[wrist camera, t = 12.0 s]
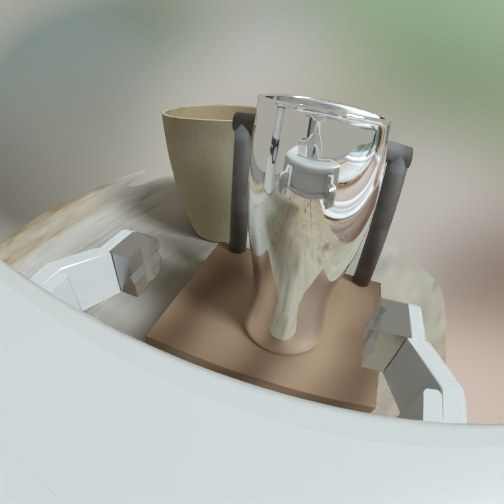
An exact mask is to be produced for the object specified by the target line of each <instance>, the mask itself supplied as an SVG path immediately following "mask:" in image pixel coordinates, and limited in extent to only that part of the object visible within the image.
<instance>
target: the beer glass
mask: <svg viewBox="0 0 504 504" xmlns="http://www.w3.org/2000/svg"><path fill="white" fill-rule="evenodd" d="M391 123H392V120H391V119H390V118H388V117H386V116H384V115H382V114H379V113H376V112H374V111H370V110H367V109H364V108H360V107H357V106H353V105H348V104H344V103H340V102H335V101H331V100H325V99H319V98H313V97H306V96H298V95H287V94H260V95H258V101H257V109H256V115H255V120H254V126H253V132H252V138H251V144H250V151H249V160H248V169H247V188H246V205H247V222H248V231H249V240H250V248H251V256H252V265H253V286H252V291H251V294H250V297H249V300H248V303H247V306H246V309H245V312H244V326H245V329H246V331H247V333H248V335H249V336H250V338H251V339H252V340H253V341H254V342H255V343H256V344H258V345H259V346H260V347H262V348H264V349H266V350H268V351H270V352H273V353H277V354H283V355H295V354H301V353H304V352H307V351H309V350H311V349H313V348H314V347H316V346H317V345H318V344H319V343H320V341H321V340H322V339H323V337H324V335H325V332H326V327H327V320H328V311H329V305H330V302H331V299H332V296H333V294H334V292H335V290H336V288H337V286H338V284H339V282H340V280H341V279H342V277H343V275H344V274H345V272H346V270H347V268H348V267H349V265H350V263H351V261H352V260H353V258H354V256H355V254H356V252H357V250H358V249H359V247H360V245H361V243H362V241H363V238H364V236H365V234H366V232H367V230H368V227H369V225H370V223H371V220H372V217H373V214H374V211H375V208H376V204H377V201H378V198H379V193H380V189H381V185H382V180H383V175H384V170H385V163H386V157H387V150H388V141H389V133H390V127H391Z"/></svg>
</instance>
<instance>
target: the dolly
mask: <svg viewBox="0 0 504 504" xmlns="http://www.w3.org/2000/svg"><path fill="white" fill-rule="evenodd" d="M255 115H256V114H252V113H243V112H236V113H235V114H234V116H233V120H232V128H233V130H234V131H235V136H234V154H233V173H232V193H231V215H230V240H229V244H228V243H225V242H220V243H219V244H218V245H217V247H216V248H215V249H214V250H213V251H212V253H211V254H210V255H209V256H208V258H207V259H206V260H205V261H204V262H203V264H202V265H201V266H200V267H199V269H198V270H197V271H196V272H195V274H194V275H193V276H192V277H191V279H190V280H189V281H188V282H187V284H186V285H185V286H184V287H183V289H182V290H181V291H180V292H179V294H178V295H177V296H176V297H175V299H174V300H173V301H172V303H171V304H170V305H169V306H168V308H167V309H166V310H165V311H164V313H163V314H162V315H161V317H160V318H159V319H158V320H157V322H156V323H155V324H154V326H153V327H152V328H151V329H150V331H149V332H148V333H147V335H146V338H147V341H148V344H149V345H151V346H153V347H155V348H157V349H160V350H162V351H164V352H167V353H169V354H171V355H174V356H176V357H178V358H181V359H183V360H186V361H188V362H191V363H193V364H196V365H199V366H201V367H204V368H206V369H209V370H212V371H214V372H217V373H220V374H223V375H226V376H228V377H231V378H234V379H237V380H240V381H243V382H246V383H249V384H253V385H256V386H259V387H262V388H266V389H269V390H272V391H276V392H279V393H283V394H286V395H290V396H294V397H298V398H302V399H305V400H309V401H314V402H318V403H322V404H326V405H331V406H335V407H340V408H345V409H350V410H355V411H360V412H366V413H371V412H372V411H373V410H374V409H375V407H376V397H377V387H378V375H379V371H377V370H372V369H368V368H364V367H361V359H362V351H363V349H364V347H365V343H364V342H363V337H364V331H365V327H366V324H367V321H368V319H369V317H370V315H371V314H373V313H374V312H375V304H376V302H377V300H378V298H379V297H381V283H378V282H374V281H370V280H371V277H372V275H373V272H374V270H375V267H376V264H377V262H378V259H379V256H380V254H381V251H382V248H383V245H384V243H385V240H386V237H387V234H388V231H389V228H390V225H391V222H392V219H393V216H394V213H395V210H396V206H397V203H398V200H399V196H400V193H401V190H402V186H403V183H404V179H405V175H406V172H407V168H409V166H410V164H411V161H412V156H413V148H412V147H408V146H405V145H402V144H399V143H395V142H392V141H388V150H387V157H386V162H387V166H386V170H385V175H384V178H383V182H382V186H381V190H380V194H379V198H378V201H377V205H376V208H375V212H374V215H373V218H372V222H371V225H370V228H369V232H368V235H367V238H366V241H365V244H364V247H363V250H362V253H361V256H360V259H359V262H358V265H357V268H356V271H355V274H354V276H351V275H347V274H344V275H343V277H342V279H341V280H340V282H339V284H338V286H337V288H336V290H335V292H334V294H333V296H332V299H331V302H330V305H329V311H328V320H327V327H326V332H325V335H324V337H323V339H322V340H321V341H320V343H319V344H318V345H317V346H316V347H314V348H313V349H311V350H309V351H307V352H304V353H301V354H295V355H283V354H277V353H273V352H270V351H268V350H266V349H264V348H262V347H260V346H259V345H258V344H256V343H255V342H254V341H253V340H252V339H251V338H250V336H249V335H248V333H247V331H246V329H245V326H244V312H245V309H246V306H247V303H248V300H249V297H250V294H251V291H252V286H253V265H252V256H251V249H248V248H246V242H247V229H248V222H247V205H246V188H247V169H248V160H249V151H250V144H251V138H252V132H253V126H254V120H255Z"/></svg>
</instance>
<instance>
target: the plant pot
mask: <svg viewBox="0 0 504 504" xmlns="http://www.w3.org/2000/svg"><path fill="white" fill-rule="evenodd" d="M256 109H257V107H252V106H241V105H193V106H183V107H175V108H171V109H167V110H164V111H163V112H162V117H163V124H164V131H165V137H166V143H167V148H168V153H169V158H170V162H171V166H172V170H173V174H174V177H175V181H176V184H177V187H178V190H179V193H180V196H181V199H182V202H183V205H184V207H185V210H186V212H187V214H188V217H189V219H190V221H191V224H192V226H193V228H194V230H195V232H196V233H197V234H198V235H199V236H200V237H202V238H204V239H206V240H209V241H214V242H229V240H230V215H231V193H232V173H233V154H234V136H235V131H234V130H233V128H232V120H233V116H234V114H235V113H236V112H243V113H252V114H256ZM247 232H248V229H247Z"/></svg>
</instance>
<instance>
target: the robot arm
mask: <svg viewBox="0 0 504 504" xmlns="http://www.w3.org/2000/svg"><path fill="white" fill-rule="evenodd" d="M158 249H159V242H158V240H157V239H156V238H155V237H152V236H149V235H145V234H142V233H139V232H135V231H132V230H128V229H123V230H122V231H120V232H119V233H118V234H116V235H115V236H114V237H113V238H111V239H110V240H109V241H108V242H106V243H105V244H104V245H103V246H101V247H100V248H99V249H98V248H94V249H90V250H87V251H84V252H81V253H77V254H74V255H71V256H68V257H65V258H62V259H59V260H56V261H52V262H49V263H47V264H46V265H45V266H44V267H42V268H41V269H40V270H39V271H38V272H37V273H35V274H34V275H33V276H32V277H31V278H30V279H28V278H27V277H25V276H24V275H22V274H21V273H20V272H18V271H17V270H15V269H14V268H12V267H11V266H9V265H8V264H7V263H5V262H4V261H3V260H1V259H0V504H504V424H467V415H466V402H465V392H464V391H463V389H462V388H461V386H460V385H459V383H458V382H457V380H456V379H455V378H454V376H453V375H452V373H451V372H450V370H449V369H448V367H447V366H446V365H445V363H444V362H443V360H442V359H441V358H440V356H439V355H438V354H437V352H436V351H435V349H434V348H433V347H432V345H431V344H430V343H429V342H426V340H425V332H424V325H423V318H422V311H421V307H420V306H418V305H413V304H409V303H403V302H398V301H394V300H390V299H386V298H382V297H379V298H378V300H377V302H376V304H375V312H374V313H373V314H371V315H370V317H369V319H368V321H367V324H366V327H365V331H364V337H363V342H364V343H365V347H364V349H363V351H362V359H361V367H364V368H368V369H372V370H377V371H381V372H383V374H384V376H385V379H386V381H387V383H388V385H389V388H390V390H391V392H392V394H393V397H394V399H395V401H396V404H397V406H398V408H399V411H400V413H401V414H400V415H399V416H398V417H390V416H384V415H377V414H371V413H366V412H360V411H355V410H350V409H345V408H340V407H335V406H331V405H326V404H322V403H318V402H314V401H309V400H305V399H302V398H298V397H294V396H290V395H286V394H283V393H279V392H276V391H272V390H269V389H266V388H262V387H259V386H256V385H253V384H249V383H246V382H243V381H240V380H237V379H234V378H231V377H228V376H226V375H223V374H220V373H217V372H214V371H212V370H209V369H206V368H204V367H201V366H199V365H196V364H193V363H191V362H188V361H186V360H183V359H181V358H178V357H176V356H174V355H171V354H169V353H167V352H164V351H162V350H160V349H157V348H155V347H153V346H151V345H148V344H146V343H144V342H142V341H140V340H138V339H135V338H133V337H131V336H129V335H127V334H125V333H123V332H121V331H119V330H117V329H115V328H113V327H111V326H109V325H107V324H105V323H103V322H101V321H99V320H98V319H96V318H94V317H92V316H90V315H88V314H86V313H85V312H83V311H84V310H86V309H88V308H90V307H92V306H94V305H96V304H98V303H100V302H102V301H104V300H106V299H108V298H110V297H112V296H114V295H116V294H118V293H120V292H121V291H122V292H125V293H127V294H130V295H133V296H135V297H138V296H139V295H140V294H141V293H142V292H143V291H144V290H145V289H146V288H147V282H149V281H152V280H154V279H155V278H156V276H157V275H158V273H159V271H160V269H161V257H160V255H159V254H158V252H157V250H158Z"/></svg>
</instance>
